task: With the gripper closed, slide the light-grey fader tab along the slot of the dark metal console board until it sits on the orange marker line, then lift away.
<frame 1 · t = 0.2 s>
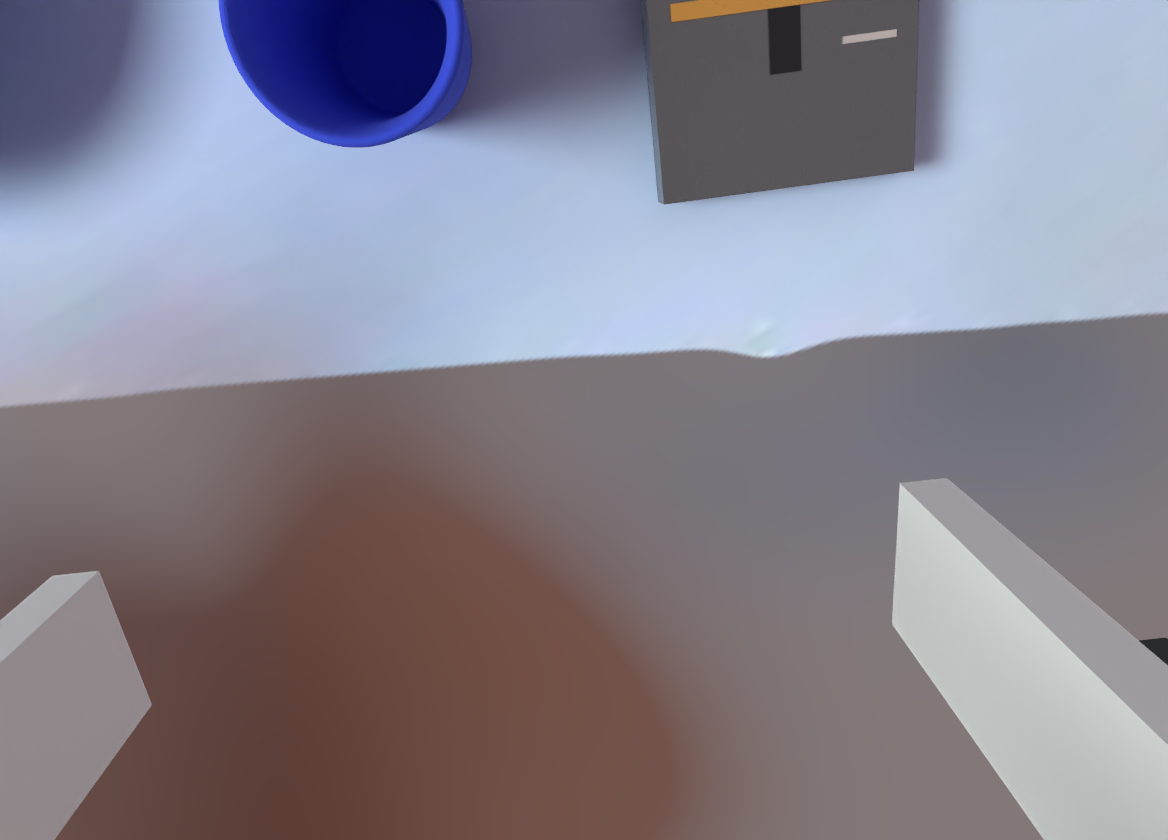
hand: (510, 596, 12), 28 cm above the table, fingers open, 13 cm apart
mug: (379, 11, 34), on the table
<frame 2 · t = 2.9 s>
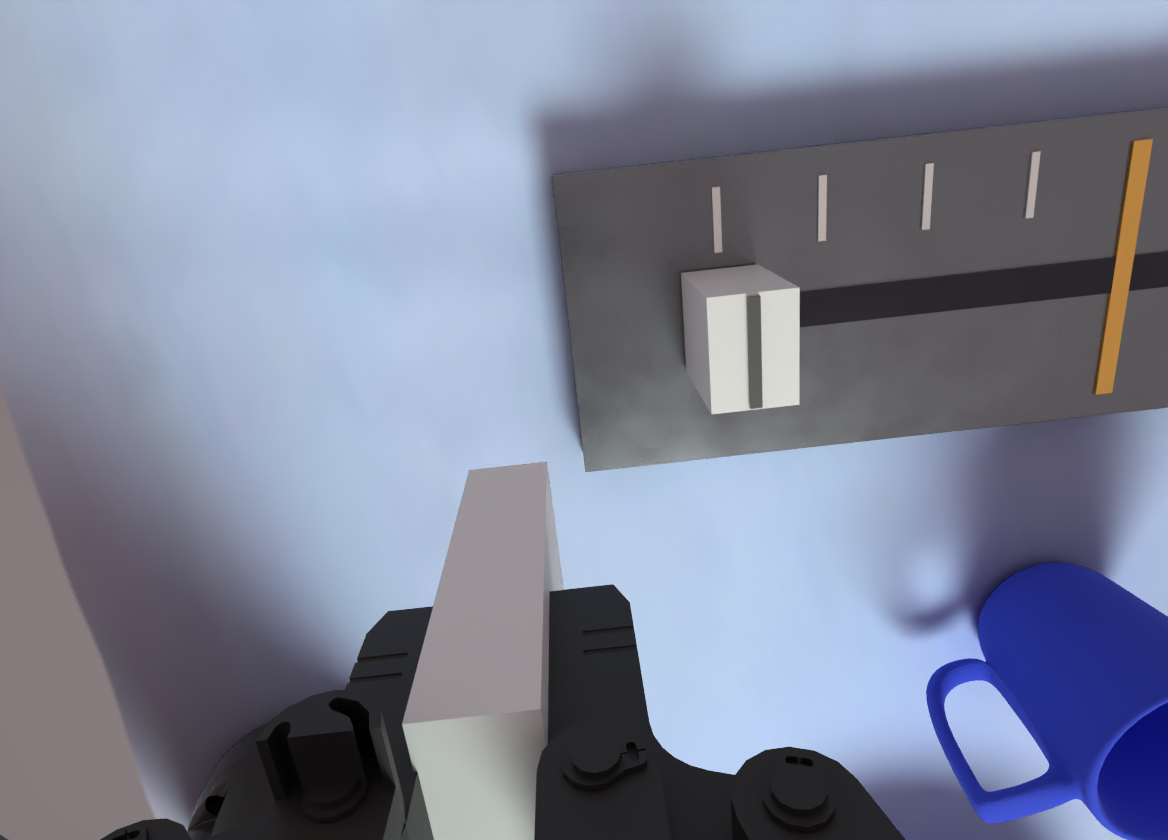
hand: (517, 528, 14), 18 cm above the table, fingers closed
fader: (736, 335, 26), point 5 cm above the table, slide at 0.0 cm
mug: (995, 622, 37), on the table
console: (921, 284, 31), on the table
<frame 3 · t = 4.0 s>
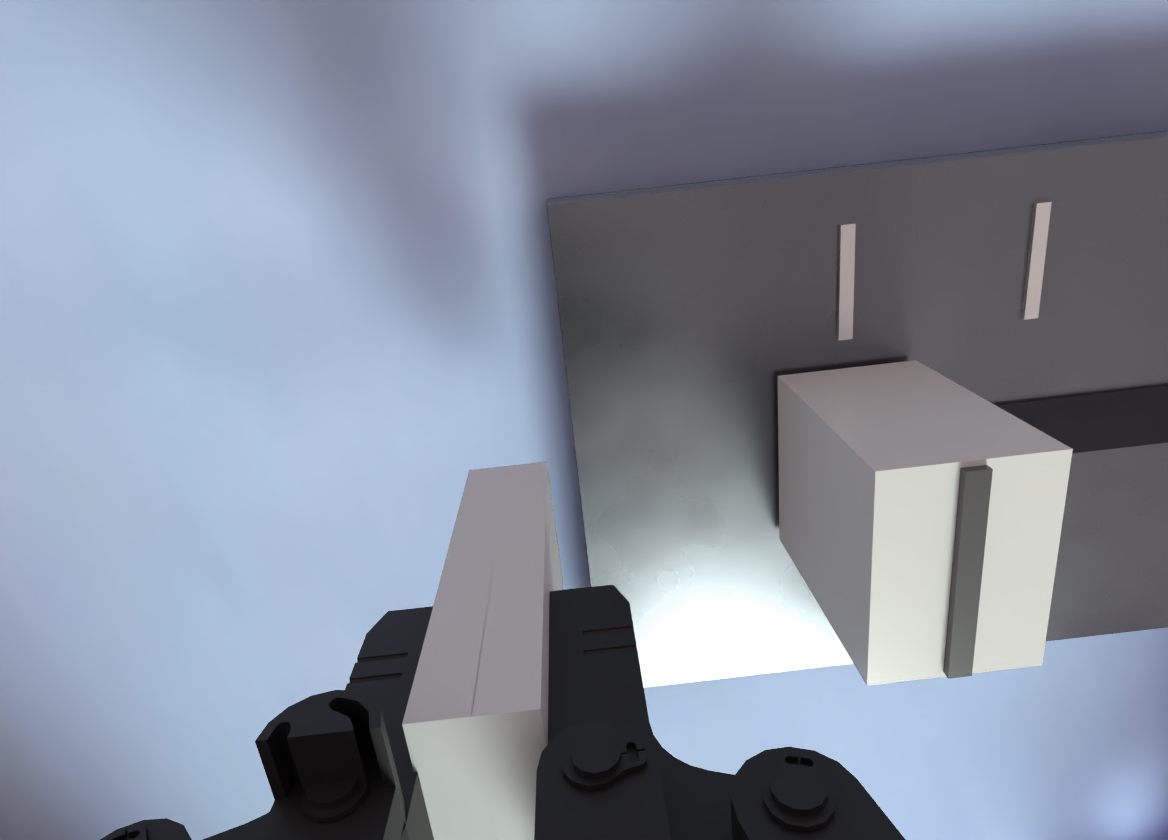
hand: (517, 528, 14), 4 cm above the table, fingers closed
fader: (896, 505, 14), point 5 cm above the table, slide at 0.0 cm
console: (1163, 379, 18), on the table
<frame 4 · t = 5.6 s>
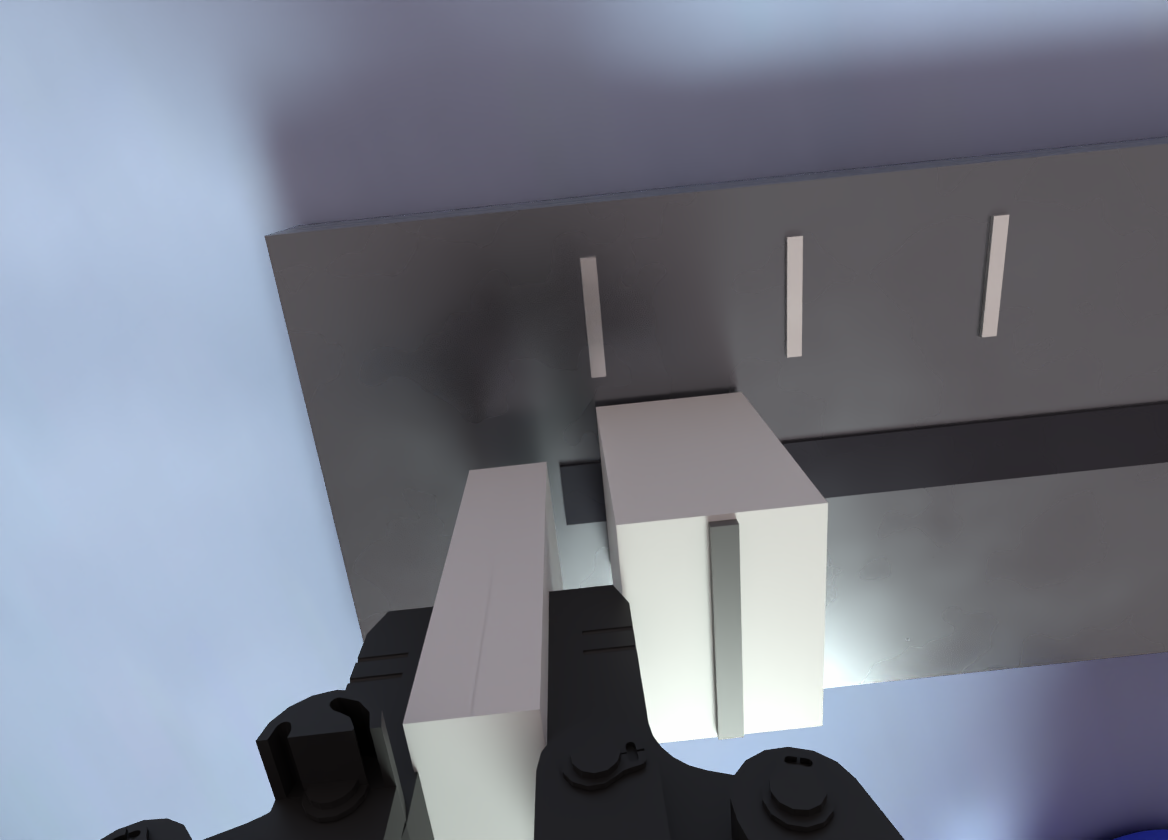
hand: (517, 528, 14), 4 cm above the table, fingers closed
fader: (696, 549, 13), point 5 cm above the table, slide at 1.4 cm, touching gripper
console: (970, 415, 18), on the table
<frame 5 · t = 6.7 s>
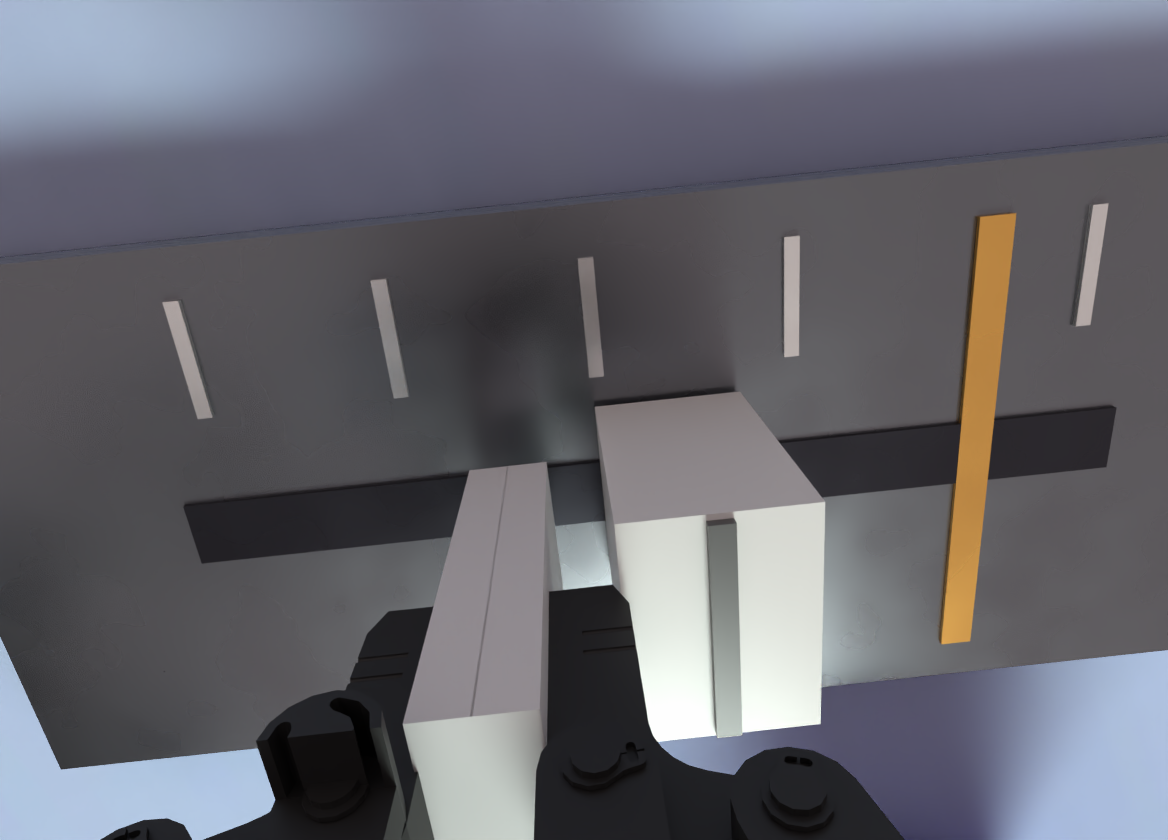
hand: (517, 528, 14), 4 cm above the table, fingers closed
fader: (694, 548, 13), point 5 cm above the table, slide at 9.4 cm, touching gripper
console: (642, 449, 18), on the table
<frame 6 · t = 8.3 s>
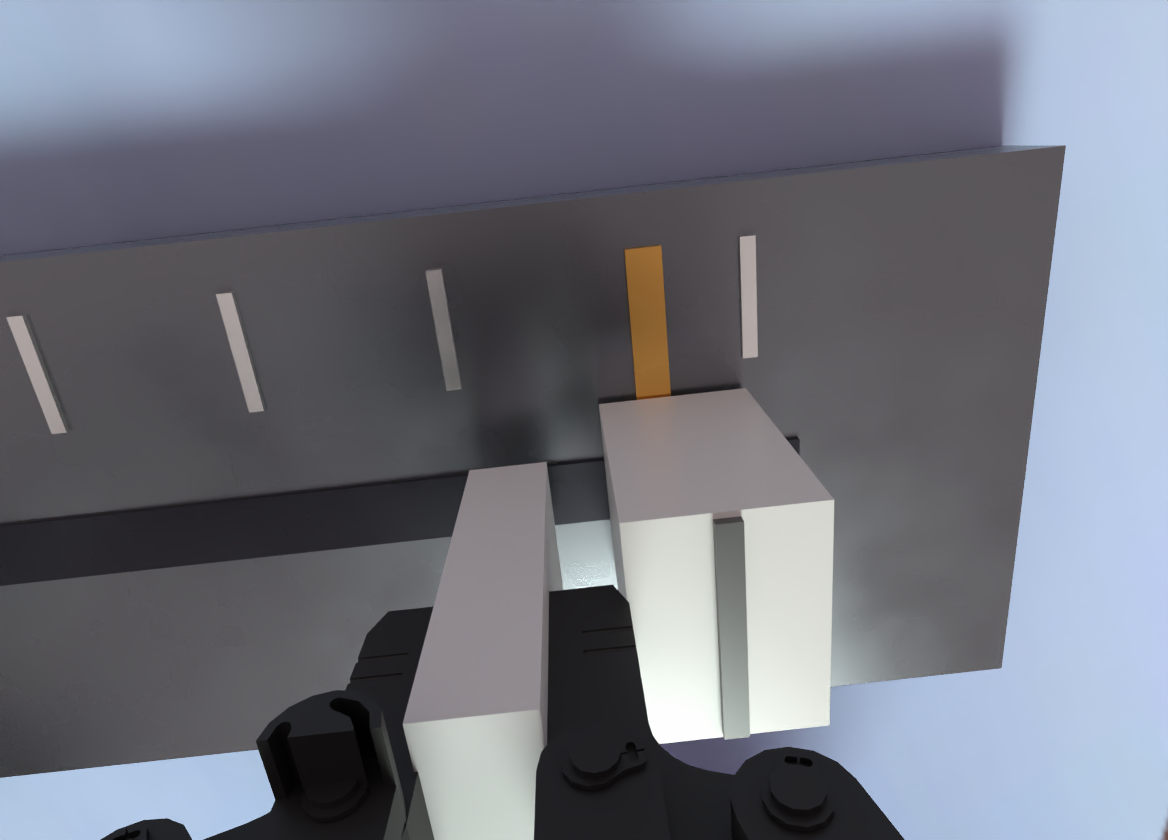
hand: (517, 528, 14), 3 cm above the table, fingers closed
fader: (700, 547, 13), point 5 cm above the table, slide at 16.4 cm, touching gripper
console: (359, 478, 18), on the table
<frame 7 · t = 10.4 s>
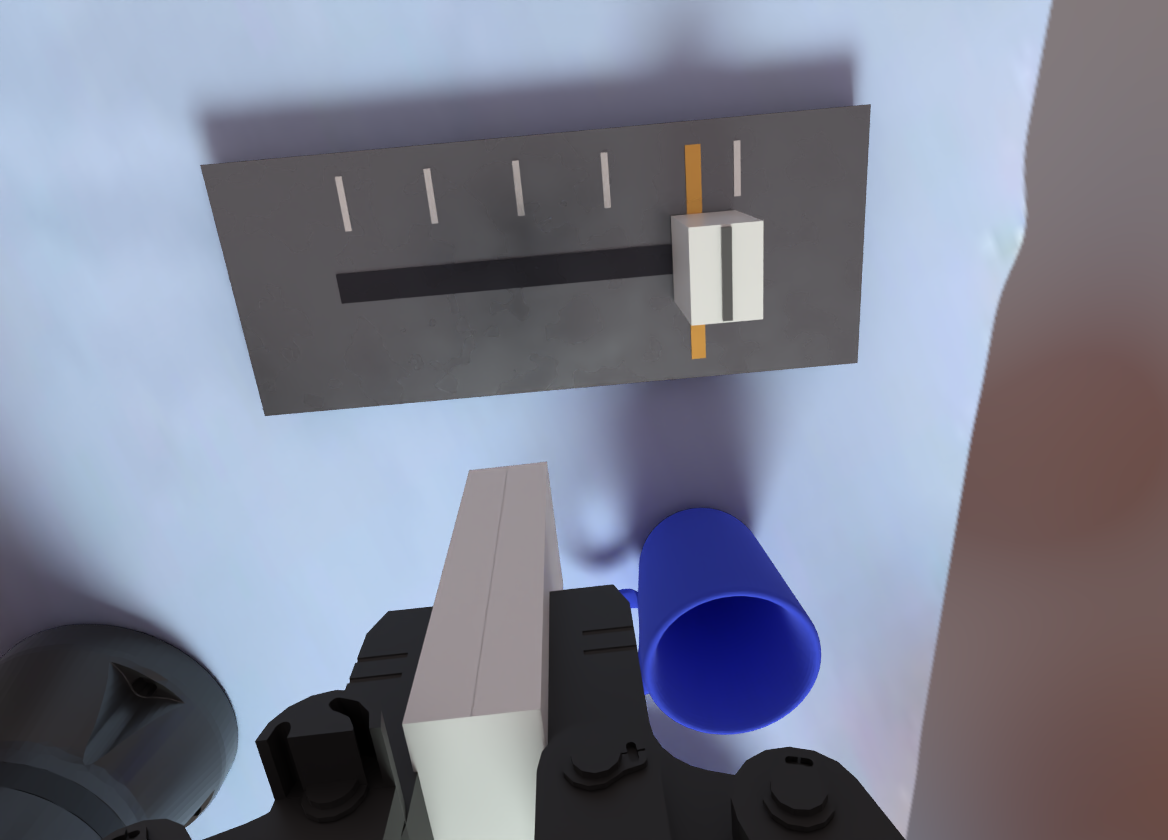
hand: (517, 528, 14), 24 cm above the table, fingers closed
fader: (715, 265, 32), point 5 cm above the table, slide at 16.4 cm
mug: (664, 561, 43), on the table
console: (549, 263, 37), on the table
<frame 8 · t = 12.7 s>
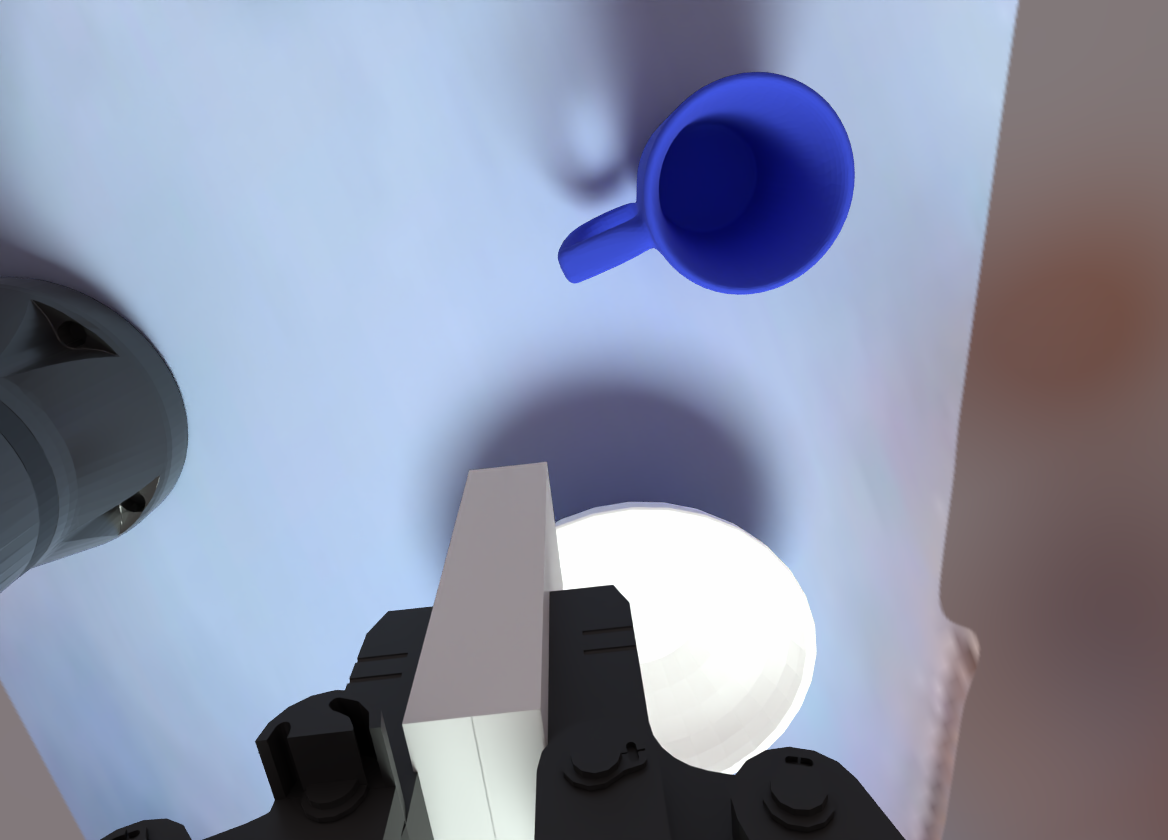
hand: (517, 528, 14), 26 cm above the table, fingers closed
mug: (666, 194, 38), on the table
bowl: (627, 593, 46), on the table
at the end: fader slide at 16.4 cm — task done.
